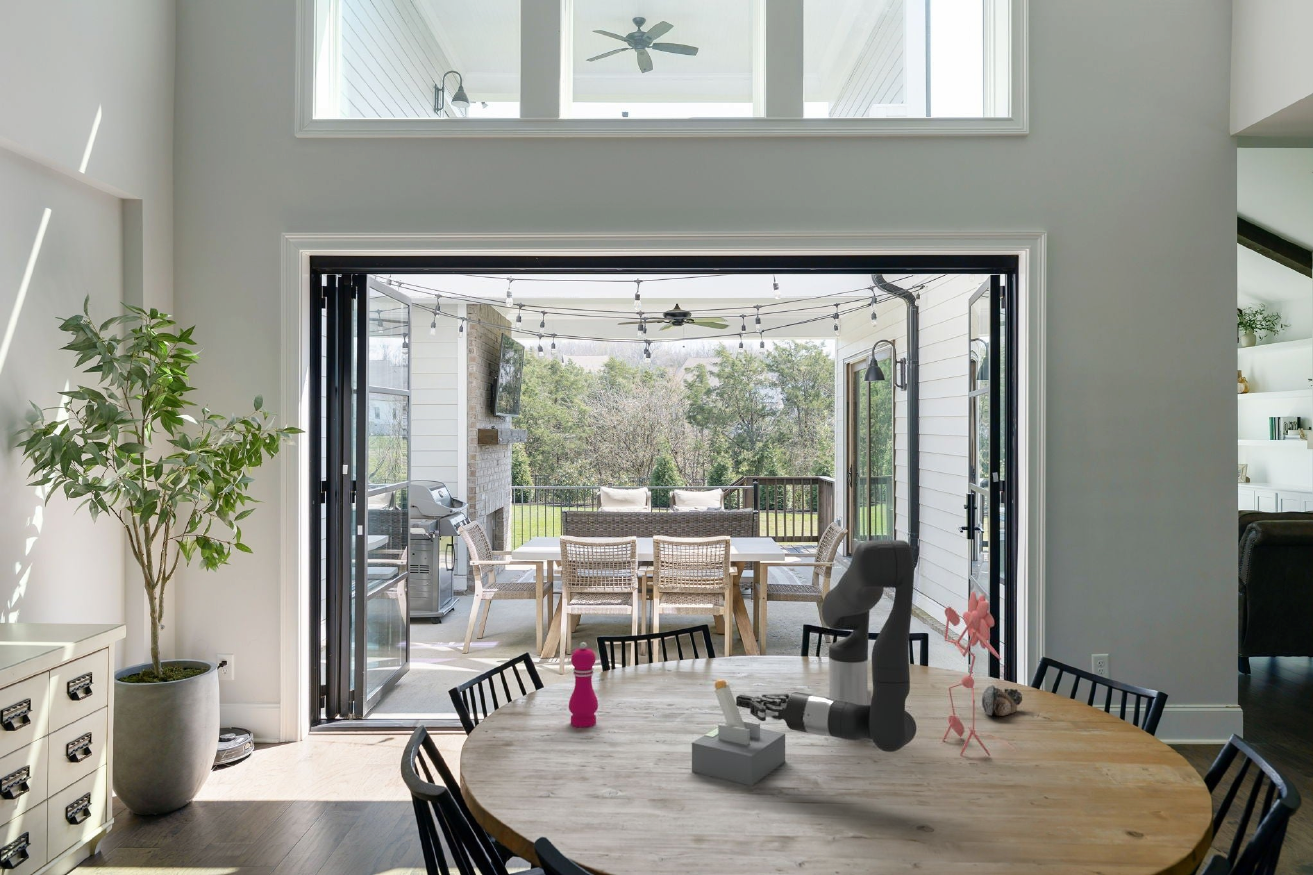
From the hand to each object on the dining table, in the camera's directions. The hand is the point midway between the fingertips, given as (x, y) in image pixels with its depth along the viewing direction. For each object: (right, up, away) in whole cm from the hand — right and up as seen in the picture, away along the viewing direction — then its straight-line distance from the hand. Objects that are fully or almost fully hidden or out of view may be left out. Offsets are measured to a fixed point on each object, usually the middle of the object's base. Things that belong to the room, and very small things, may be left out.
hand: (737, 700), depth 183 cm
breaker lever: (0, -7, 0) cm, 7 cm away
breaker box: (0, -14, 0) cm, 14 cm away
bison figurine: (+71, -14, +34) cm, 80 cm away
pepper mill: (-35, -14, +28) cm, 47 cm away
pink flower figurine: (+56, -14, +11) cm, 59 cm away
